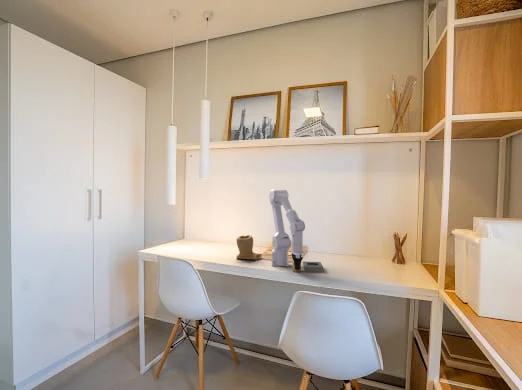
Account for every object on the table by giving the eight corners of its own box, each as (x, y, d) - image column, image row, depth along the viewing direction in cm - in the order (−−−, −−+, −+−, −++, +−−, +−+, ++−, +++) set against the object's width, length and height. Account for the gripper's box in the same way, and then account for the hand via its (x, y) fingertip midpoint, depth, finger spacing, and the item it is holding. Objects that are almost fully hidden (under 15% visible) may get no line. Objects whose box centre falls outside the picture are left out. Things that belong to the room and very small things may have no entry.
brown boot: (232, 260, 175) (233, 236, 174) (240, 256, 186) (240, 233, 186) (255, 262, 170) (256, 237, 170) (262, 258, 181) (262, 234, 181)
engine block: (304, 271, 152) (304, 266, 152) (302, 266, 162) (302, 261, 162) (323, 272, 151) (323, 266, 151) (320, 267, 161) (320, 261, 161)
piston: (292, 272, 150) (292, 261, 150) (292, 270, 155) (292, 259, 155) (301, 272, 150) (301, 261, 150) (300, 270, 155) (300, 259, 154)
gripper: (305, 246, 145) (305, 272, 145) (303, 240, 159) (303, 264, 159) (292, 245, 145) (291, 272, 145) (290, 240, 159) (290, 264, 160)
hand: (296, 268), depth 152 cm, fingers closed on piston, 4 cm apart
